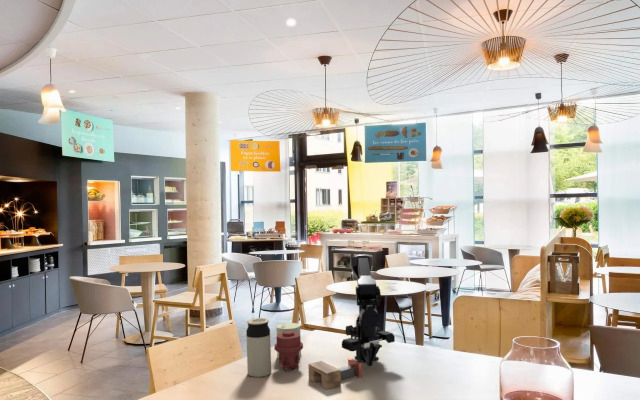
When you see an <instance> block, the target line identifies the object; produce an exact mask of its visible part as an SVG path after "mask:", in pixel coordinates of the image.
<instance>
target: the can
mask: <svg viewBox="0 0 640 400" xmlns="http://www.w3.org/2000/svg"><path fill="white" fill-rule="evenodd" d="M275 327H276V328H275V329H276V330H275V331H276V336H277V335H278V334H281V333H283V332H285V331H293V332H295V333H298V334H300V335H301V324H300V323H296V322H284V323H279V324H277V325H276V326H275ZM300 341H301V337H300ZM301 342H302V341H301ZM301 357H302V350H300V351H299V359H300V358H301ZM276 358H277V359H278V360H279V352H277V351H276Z"/></svg>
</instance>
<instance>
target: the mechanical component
mask: <svg viewBox="0 0 640 400" xmlns="http://www.w3.org/2000/svg"><path fill="white" fill-rule="evenodd" d="M300 338H301V333H300V334H298V333H295V332H293V331H285V332H283V333H281V334H278V335H277V334H276V343H275V344H274V347H273V348H274V351H276V353H277V352H279V359H278V363H279V364H278V365H280V366H282V367H283V368H284V370H285V371H287V372H288V371H290V370H293V369H294V368H298V367H299V364H300V358H299V351H300V350H301V351H302V350H303V349H304V343H303V342H302V341H300Z"/></svg>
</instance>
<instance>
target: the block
mask: <svg viewBox="0 0 640 400" xmlns="http://www.w3.org/2000/svg"><path fill="white" fill-rule="evenodd" d="M307 367H308V380H310V381H311V382H313V383H316V382H319V381H321V387H322V388H324V389H325V390H331V389H335V388H338V387H342V383H341V381H342V380H341V376H340V369H337V368H338V367H335V366H333V365H330V364H328V363H326V362H325V361H324V360H323V361H322V360H319V361H314V362H310V363H308V366H307Z"/></svg>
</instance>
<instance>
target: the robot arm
mask: <svg viewBox="0 0 640 400" xmlns="http://www.w3.org/2000/svg"><path fill="white" fill-rule="evenodd" d="M373 263H374V259H373V256H370V254H357V255H355V256H352V257H350V263H349V264H350V265H349V266H350V269H351V270H352V275H353V277H354V278H355V279H356V283H357V285H356V286H355V300H356V306H358V316H357V318H356V321H355V326H353V325H352V324H351V325H350V324H349V325H346V326H345V334H346V336H350V337H349V338H343V339H342V341H341V348H342V349H345V350H346V351H349V352H355V356H354V359H355V360H357V361H359V362H360V361H361V362H363V363H366V365H367V367H372V365H373V364H374V361H375V360H379V358H380V357H379V356H377V355H378V353H379V352H380V349H381V348H382V347H383V345H382V344H380V342H382V341H385V342H386V343H388V344H390V343H395V339H396V338H395V334H394V333H392V332H390V331H388V330H387V331H386V330H382V331H381V330H380V329H379V327H380V323H379V322H380V315H379V313H378V310H377V306H380V305H381V302H382V294H381V293H382V292H381V288H380V286H379V285H377V283H376V279H375V278H373V277H372V273H371V272H372V269H373V268H374V264H373Z"/></svg>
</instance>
